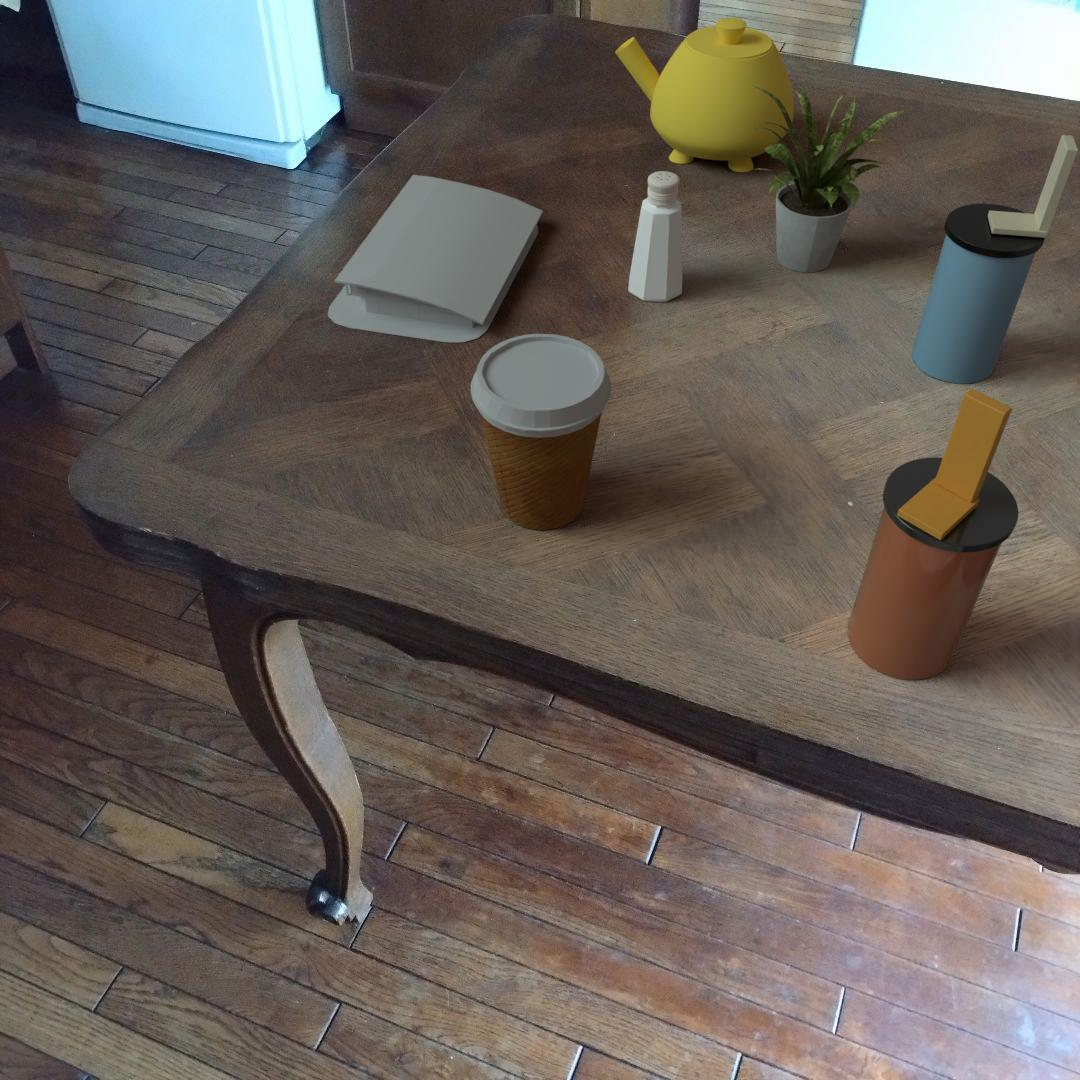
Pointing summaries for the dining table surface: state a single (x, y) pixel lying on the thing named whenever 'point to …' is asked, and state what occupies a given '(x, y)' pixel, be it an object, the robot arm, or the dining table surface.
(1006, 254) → the disc
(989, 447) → the near slider
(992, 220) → the block
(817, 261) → the house plant
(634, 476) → the dining table surface
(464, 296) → the book
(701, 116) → the teapot
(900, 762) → the dining table surface
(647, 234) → the salt shaker
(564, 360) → the disposable coffee cup
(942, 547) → the near tumbler
